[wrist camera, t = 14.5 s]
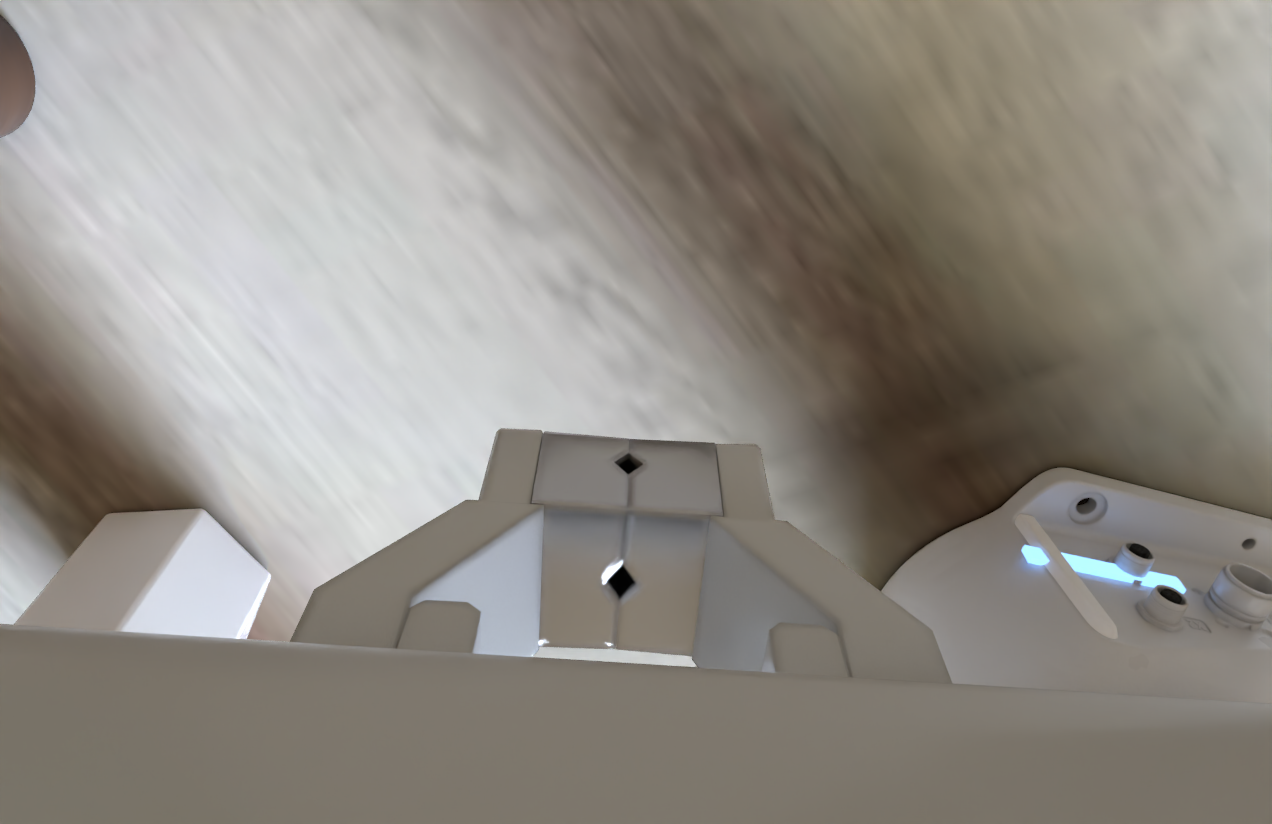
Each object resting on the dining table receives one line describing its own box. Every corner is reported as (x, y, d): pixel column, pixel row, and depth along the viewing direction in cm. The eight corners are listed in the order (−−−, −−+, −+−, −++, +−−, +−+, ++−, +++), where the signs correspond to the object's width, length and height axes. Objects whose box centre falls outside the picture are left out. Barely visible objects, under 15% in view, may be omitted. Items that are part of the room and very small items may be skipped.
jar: (114, 472, 46) (-45, 652, 35) (289, 539, 48) (187, 730, 37) (72, 613, 50) (-83, 814, 39) (236, 671, 51) (130, 879, 41)
